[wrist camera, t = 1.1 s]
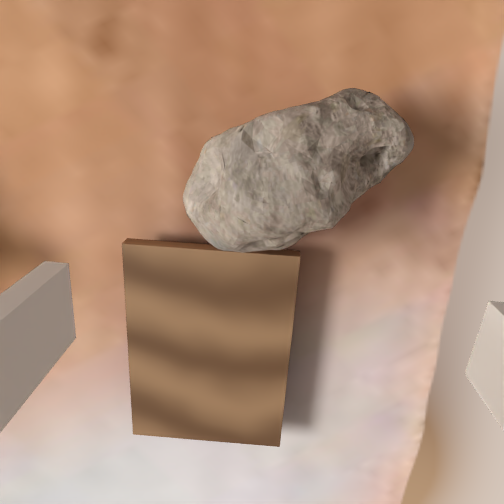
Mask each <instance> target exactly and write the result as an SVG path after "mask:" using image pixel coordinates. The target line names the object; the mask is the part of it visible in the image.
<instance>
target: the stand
mask: <svg viewBox="0 0 504 504" xmlns="http://www.w3.org/2000/svg"><path fill="white" fill-rule="evenodd" d="M122 254H123V271H124V288H125V305H126V322H127V339H128V356H129V373H130V390H131V407H132V423H133V434H136V435H147V436H159V437H171V438H183V439H194V440H206V441H218V442H230V443H241V444H253V445H265V446H277V447H280V438H281V429H282V420H283V411H284V402H285V393H286V384H287V375H288V366H289V357H290V348H291V339H292V330H293V321H294V312H295V302H296V293H297V284H298V275H299V266H300V251H294V250H264V251H253V252H245V253H241V252H235V251H223V250H220V249H217V248H216V247H214V246H213V245H211V244H198V243H184V242H170V241H157V240H143V239H129V238H127V239H126V240H125V241H124V242H123V243H122Z"/></svg>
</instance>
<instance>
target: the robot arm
mask: <svg viewBox="0 0 504 504" xmlns="http://www.w3.org/2000/svg"><path fill="white" fill-rule="evenodd" d="M75 338H76V333H75V323H74V313H73V303H72V293H71V283H70V273H69V263H59V262H48V261H44V262H43V263H41V264H40V265H39V266H37V267H36V268H35V269H33V270H32V271H31V272H29V273H28V274H27V275H25V276H24V277H23V278H21V279H20V280H19V281H17V282H16V283H15V284H13V285H12V286H11V287H9V288H8V289H7V290H5V291H4V292H3V293H1V294H0V432H1V431H2V430H3V429H4V427H5V426H6V425H7V424H8V422H9V421H10V420H11V419H12V417H13V416H14V415H15V414H16V412H17V411H18V410H19V409H20V407H21V406H22V405H23V404H24V402H25V401H26V400H27V399H28V397H29V396H30V395H31V394H32V392H33V391H34V390H35V389H36V387H37V386H38V385H39V384H40V382H41V381H42V380H43V379H44V377H45V376H46V375H47V373H48V372H49V371H50V370H51V368H52V367H53V366H54V365H55V363H56V362H57V361H58V360H59V358H60V357H61V356H62V355H63V353H64V352H65V351H66V350H67V348H68V347H69V346H70V345H71V343H72V342H73V341H74V340H75ZM465 375H466V376H467V378H468V379H469V381H470V382H471V384H472V385H473V387H474V388H475V390H476V391H477V392H478V394H479V395H480V397H481V399H482V400H483V401H484V403H485V405H486V406H487V407H488V409H489V410H490V412H491V413H492V414H493V416H494V418H495V419H496V421H497V422H498V424H499V425H500V427H501V428H502V430H503V431H504V302H494V301H489V302H488V305H487V308H486V311H485V314H484V317H483V320H482V323H481V326H480V329H479V332H478V335H477V338H476V341H475V344H474V347H473V351H472V353H471V356H470V359H469V362H468V365H467V368H466V371H465Z"/></svg>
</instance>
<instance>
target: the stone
mask: <svg viewBox="0 0 504 504" xmlns="http://www.w3.org/2000/svg"><path fill="white" fill-rule="evenodd" d="M413 146H414V137H413V134H412V132H411V130H410V127H409V126H408V124H407V123H406V122H405V120H404V119H403V118H401V117H400V116H399V115H398V114H397V113H396V112H395V111H394V110H393V109H392V108H391V107H390V106H389V105H387V104H386V103H385V102H384V101H383V100H382V99H380V97H378V96H377V95H375V94H373V93H370V92H366V91H364V90H360V89H356V88H348V89H344V90H342V91H340V92H338V93H336V94H334V95H332V96H330V97H327V98H325V99H323V100H320V101H317V102H312V103H308V104H304V105H299V106H294V107H289V108H286V109H283V110H278V111H273V112H270V113H267V114H264V115H261V116H259V117H257V118H255V119H253V120H251V121H250V122H247V123H245V124H243V125H241V126H237V127H234V128H230V129H228V130H227V131H225V132H223V133H221V134H219V135H217V136H214V137H212V138H211V139H210V140H208V141H207V142H206V143H205V145H204V147H203V148H202V151H201V154H200V157H199V160H198V161H197V163H196V165H195V167H194V169H193V171H192V175H191V176H190V178H189V180H188V182H187V184H186V187H185V191H184V194H183V203H184V205H185V209H186V213H187V215H188V217H189V218H190V219H191V221H192V222H193V224H194V225H195V226H196V228H197V229H198V231H199V232H200V233H201V235H202V236H203V237H204V238H205V239H206V240H207V241H208V242H209V243H210V244H212V245H213V246H214V247H216V248H217V249H220V250H223V251H235V252H241V253H245V252H253V251H264V250H281V249H284V248H287V247H289V246H292V245H293V244H295V243H296V242H297V241H298V240H300V239H301V238H302V237H303V236H305V235H306V234H308V233H309V232H313V231H319V230H325V229H331V228H333V227H334V226H335V225H336V224H337V223H338V222H339V221H340V220H341V219H342V217H343V216H344V215H345V214H346V213H347V212H348V211H349V209H350V206H351V203H352V202H354V201H355V200H356V199H357V198H359V197H360V196H361V195H363V194H364V193H365V192H366V191H367V190H368V189H369V188H371V187H373V186H374V185H376V184H378V183H380V182H381V181H382V180H383V179H384V178H385V177H386V175H387V174H388V173H389V172H390V171H391V170H392V169H393V168H394V167H395V166H397V165H398V164H400V163H401V162H403V161H404V159H405V158H406V157H407V156H408V155H409V153H410V152H411V151H412V149H413Z"/></svg>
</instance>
